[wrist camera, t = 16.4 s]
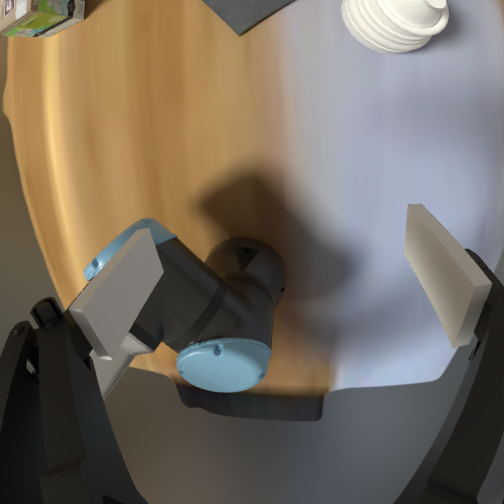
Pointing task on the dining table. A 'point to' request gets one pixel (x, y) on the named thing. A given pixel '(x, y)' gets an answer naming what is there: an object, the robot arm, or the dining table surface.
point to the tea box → (39, 16)
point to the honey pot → (394, 23)
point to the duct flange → (244, 11)
